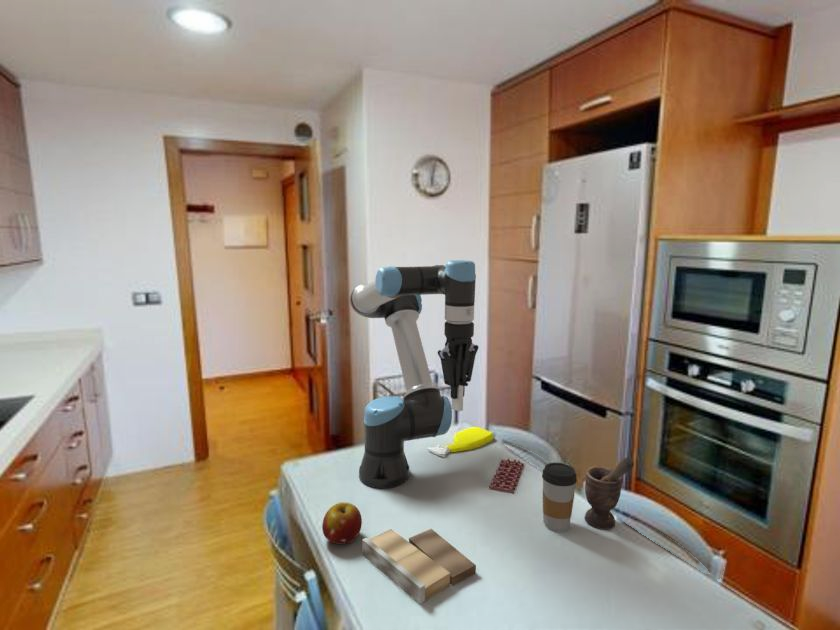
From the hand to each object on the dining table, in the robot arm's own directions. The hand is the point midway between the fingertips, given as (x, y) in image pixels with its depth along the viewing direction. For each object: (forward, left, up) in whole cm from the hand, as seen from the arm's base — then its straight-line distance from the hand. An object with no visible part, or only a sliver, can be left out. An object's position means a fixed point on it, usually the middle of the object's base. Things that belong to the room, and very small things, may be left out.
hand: (457, 409), depth 129 cm
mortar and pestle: (+32, +22, -27) cm, 47 cm away
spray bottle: (-25, +28, -27) cm, 46 cm away
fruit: (-6, -32, -27) cm, 42 cm away
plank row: (+12, -27, -26) cm, 40 cm away
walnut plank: (+15, -19, -27) cm, 36 cm away
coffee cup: (+24, +12, -27) cm, 38 cm away
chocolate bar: (0, +22, -27) cm, 35 cm away
